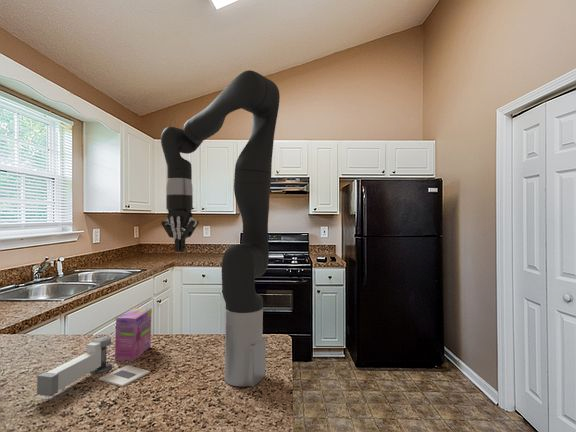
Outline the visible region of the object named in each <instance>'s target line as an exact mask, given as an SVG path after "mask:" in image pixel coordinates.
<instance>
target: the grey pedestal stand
mask: <svg viewBox="0 0 576 432" xmlns="http://www.w3.org/2000/svg"><path fill="white" fill-rule="evenodd" d="M107 348H108V346H106V347H101V366H100V367H99V368H97V369H95V370H93V371H92V372H91V373H90V374H103V373H106V372H108V371H110V370H112V367H113V365H112V364H111V363H107V350H108V349H107Z"/></svg>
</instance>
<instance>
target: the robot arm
mask: <svg viewBox="0 0 576 432" xmlns="http://www.w3.org/2000/svg"><path fill="white" fill-rule="evenodd" d="M280 96H281V95H280V89H279V87H278V85H277V84H276V83H275V82H274V81H273V80H271V79H269V78H267V77H266V76H264V75H262V74H260V73H259V72H257V71H254V70H245V71H243V72H241V73H240V74H239V75H237V76H236V77H235V78H233V80H232V81H231V82H230V83H229V84H228V85H227V86H226V87H225V88H224V89H223V90H222V91H221V92H219V94H218V95H217V96H216V97H215V98H214V100H212V101H211V102H210V103H209V105H208V106H206V107H205V108H203V109H202V110H201V111H200V112H198V113H196V114H195V115H193V116H192V117H190V118H189V119H188V120H186V122H185V123H184V125H183V129H182V128H179V127H175V126H167V127H165V128H164V129H163V130H162V132H161V135H160V144H161V148H162V151H163V155H164V159H165V162H166V167H167V171H166V172H167V176H166V177H167V178H166V190H165V191H166V201H165V202H166V210H167V211H168V212H167V216H166V219H165V220H162V221H161V225H162V227H163V229H164V231H165V232H166V234H167V236H168V237H169V238H171V239H173V240H174V250H175V253H184V252H185V250H186V239H188V238H191V236H192V235H193V233H194V232H195V230H196V229H197V227H198V225H199V222H200V221H199V220H197V219H195V218H194V217H193V213H192V210H193V207H194V206H193V202H194V201H193V199H194V198H193V197H194V195H193V192H194V190H193V180H192V179H193V178H192V177H193V175H192V174H193V173H192V172H193V171H192V163H191V162H190V161H189V160H188V159H185V158H183V156H181V154H191V153H194V152H195V151H196V150H197V149H198V148H199V147H200V146H201V144H202V143H203V142H204V141H206V140H208V139H209V138H210V137H212V136H214V135H215V134H217V133H218V132H219V131H220V130H221V129H222V127H223V125H224V123H225V119H226V117H228V115H229V114H231V113H233V112H235V111H238V110H241V109H242V110H243V111H247V112H248V113H251V114H252V124H251V134H250V137H249V139H248V141H247V143H246V144H245V146H244V147H243V149H242V151H241V152H240V154H239V155H238V158H237V160H236V162H235V166H234V180H233V191H234V197H235V202H236V204H237V207H238V210H239V213H240V216H241V221H242V236H241V243H237V244H233V245H230V246H229V247H228V248H226V250H225V252H224V254H223V256H222V258H221V260H222V261H221V291H222V293H221V294H222V298H223V300H224V302H225V320H224V321H225V322H224V323H225V324H224V325H225V327H224V332H225V333H224V334H225V335H224V382H226V384H228V385H230V386H234V387H251V388H252V387H255V386H256V385H257V384H258V383H259V382H261V381H262V380H263V379H264V378H265V377H266V362H267V361H266V354H267V351H266V349H267V347H266V345H267V344H266V343H267V341H266V340H267V339H266V337H264V336H263V329H264V327H263V325H264V324H263V323H264V322H263V321H264V320H263V318H264V317H263V316H264V298H263V296H262V295H261V294H259V293H257V292H256V284H255V283H256V281H255V279H259V278H260V277H262V276H263V275H264V274H265V273H266V271H267V270H268V266H269V262H270V261H269V260H270V259H269V258H270V252H269V214H270V213H269V212H270V198H271V197H270V195H271V188H272V186H271V185H272V166H273V165H272V164H273V152H274V140H275V131H276V125H277V120H278V116H279V115H278V113H279V108H280V98H281V97H280Z"/></svg>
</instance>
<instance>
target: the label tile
mask: <svg viewBox="0 0 576 432" xmlns="http://www.w3.org/2000/svg"><path fill="white" fill-rule="evenodd" d="M150 373H151V371H150V370H147V369H143V368H139V367H136V366H132V365H129V364H127V365H125V366H123V367H120V368H118V369H116V370H114V371H112V372H108V374H105V375H103V376H101V377H99V378H98V380H99V381H102V382H105V383H108V384H112V385H114V386H119V387H121V388H123V387H125V386H127V385H129V384H131V383H133V382H135V381H136V380H138V379H140V378H142V377H144V376H146V375H148V374H150Z"/></svg>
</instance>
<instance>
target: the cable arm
mask: <svg viewBox="0 0 576 432" xmlns="http://www.w3.org/2000/svg"><path fill="white" fill-rule="evenodd" d="M111 344H112V337H108V336H102V337H97V338H95V339H94V338H93V340H91V342H90V343H87V344H86V352H85V353H83V354H81V355H79V356H77V357H75V358H73V359H71V360H68V361H67V362H65V363H62V364H61V365H58V366H57V367H54V368H52V369H51V370H48V371H44V372H42V373H40V374H38V375H37V380H36V381H37V382H36V395H39V396H45V397H53V396H54V395H56V394H58V393H59V391H60V390H62V389H64V388H66V387H68V386H69V385H71V384H73V383H74V382H76V381H78V380H79V379H81V378H83V377H85V376H86V375H88V374H91V373H90V372H92V371H93V370H95V369H97V368H99V367H100V366H101V347H106V346H107V347H108V346H110V345H111Z"/></svg>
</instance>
